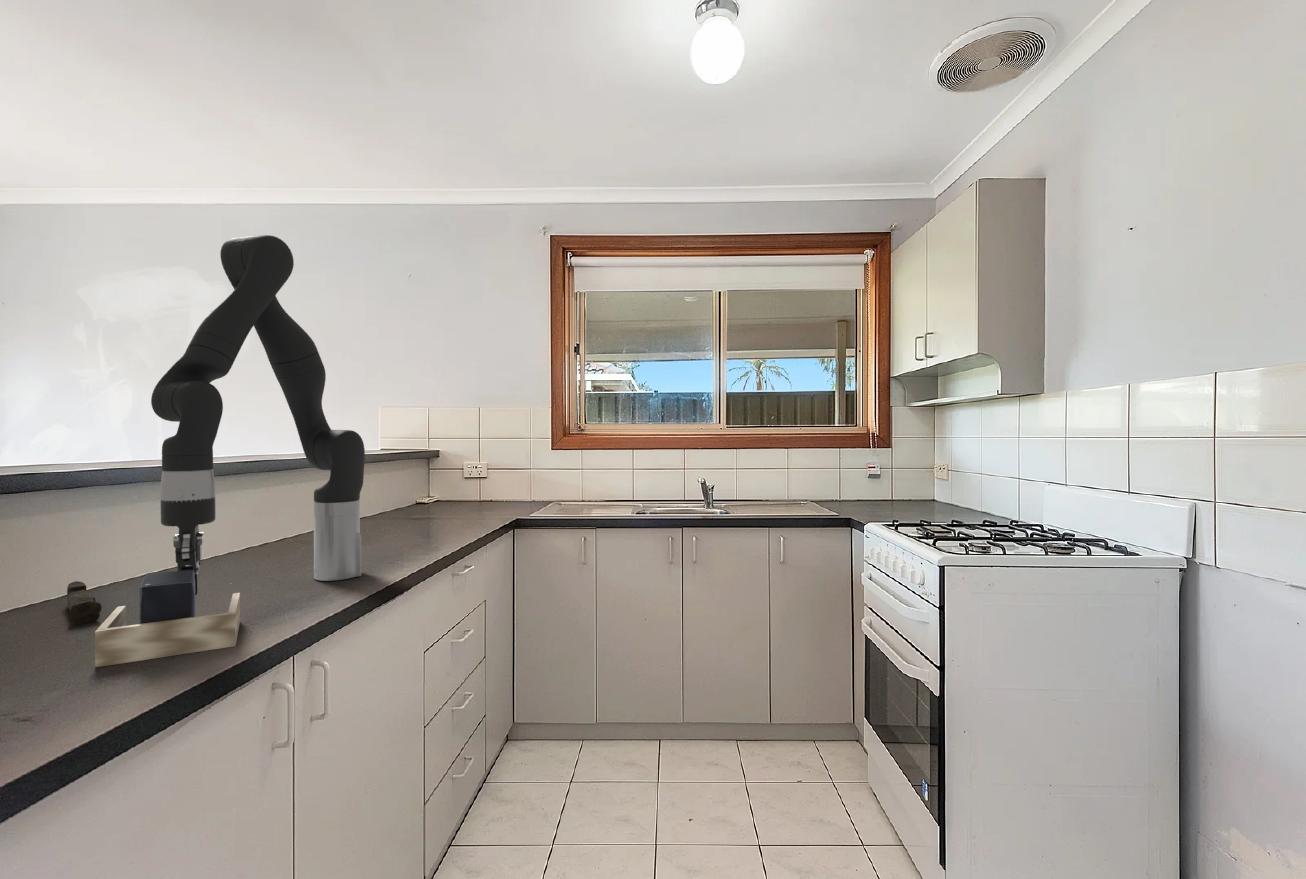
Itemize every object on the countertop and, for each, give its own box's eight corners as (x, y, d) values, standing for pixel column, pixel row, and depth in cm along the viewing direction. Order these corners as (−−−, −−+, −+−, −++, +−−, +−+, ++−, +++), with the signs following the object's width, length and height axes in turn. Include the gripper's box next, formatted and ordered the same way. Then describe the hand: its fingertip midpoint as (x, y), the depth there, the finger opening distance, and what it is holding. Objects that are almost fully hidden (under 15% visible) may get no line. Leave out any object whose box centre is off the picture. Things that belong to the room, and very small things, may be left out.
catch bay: (240, 621, 104) (240, 592, 104) (235, 645, 92) (235, 613, 92) (117, 637, 95) (117, 606, 95) (95, 667, 83) (95, 631, 83)
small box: (194, 650, 90) (194, 580, 90) (137, 659, 86) (137, 587, 86) (196, 631, 99) (195, 567, 99) (144, 638, 95) (144, 572, 95)
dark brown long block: (101, 622, 104) (101, 595, 103) (69, 627, 101) (69, 600, 101) (94, 601, 117) (94, 577, 117) (65, 605, 114) (65, 580, 114)
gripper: (212, 498, 100) (213, 601, 101) (217, 491, 111) (218, 584, 112) (154, 501, 96) (156, 608, 97) (165, 494, 107) (167, 590, 108)
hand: (189, 595), depth 104 cm, fingers closed
